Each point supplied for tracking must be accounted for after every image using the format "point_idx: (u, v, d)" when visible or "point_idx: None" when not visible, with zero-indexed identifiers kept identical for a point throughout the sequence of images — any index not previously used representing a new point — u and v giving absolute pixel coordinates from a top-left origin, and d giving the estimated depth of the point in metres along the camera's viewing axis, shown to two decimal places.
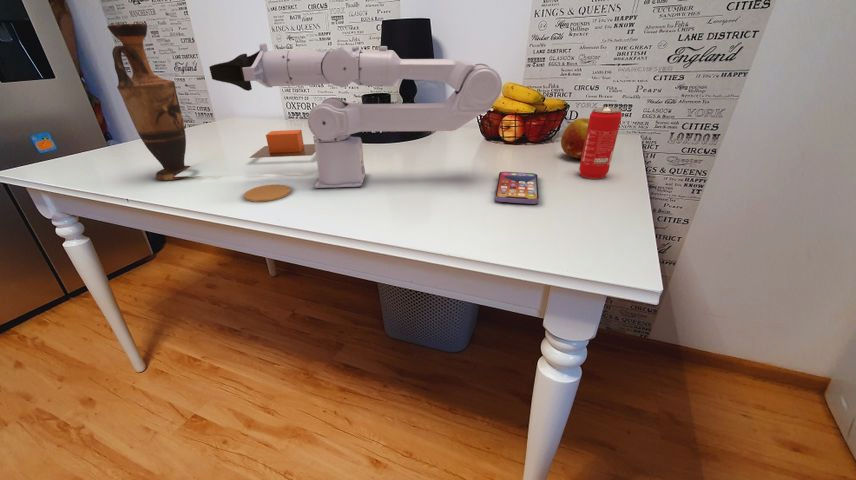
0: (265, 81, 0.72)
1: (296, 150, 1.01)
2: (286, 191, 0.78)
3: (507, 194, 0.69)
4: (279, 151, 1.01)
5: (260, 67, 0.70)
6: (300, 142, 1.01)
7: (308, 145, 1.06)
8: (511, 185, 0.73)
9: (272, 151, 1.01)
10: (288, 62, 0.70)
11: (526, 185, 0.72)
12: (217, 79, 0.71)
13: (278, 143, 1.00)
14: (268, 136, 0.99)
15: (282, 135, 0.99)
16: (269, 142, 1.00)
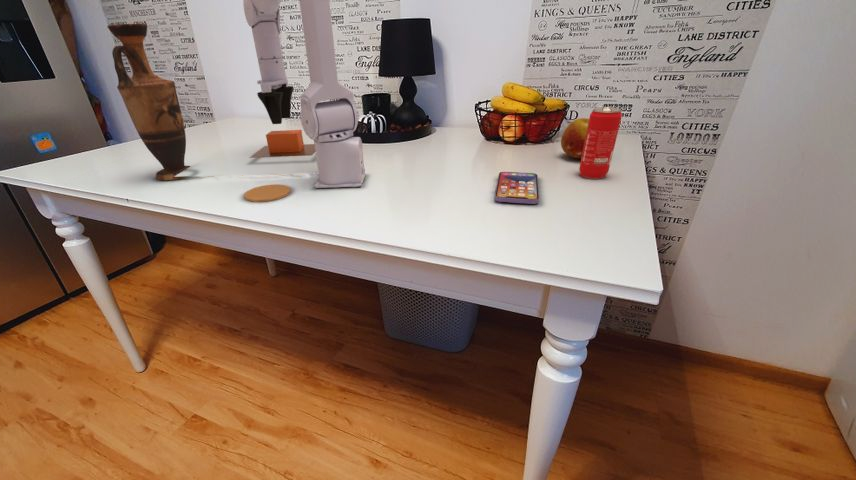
0: (278, 81, 0.92)
1: (296, 150, 1.01)
2: (286, 191, 0.78)
3: (507, 194, 0.69)
4: (279, 151, 1.01)
5: (268, 82, 0.92)
6: (300, 142, 1.01)
7: (308, 145, 1.06)
8: (511, 185, 0.73)
9: (272, 151, 1.01)
10: (257, 57, 0.92)
11: (526, 185, 0.72)
12: (279, 119, 0.95)
13: (278, 143, 1.00)
14: (268, 136, 0.99)
15: (282, 135, 0.99)
16: (269, 142, 1.00)
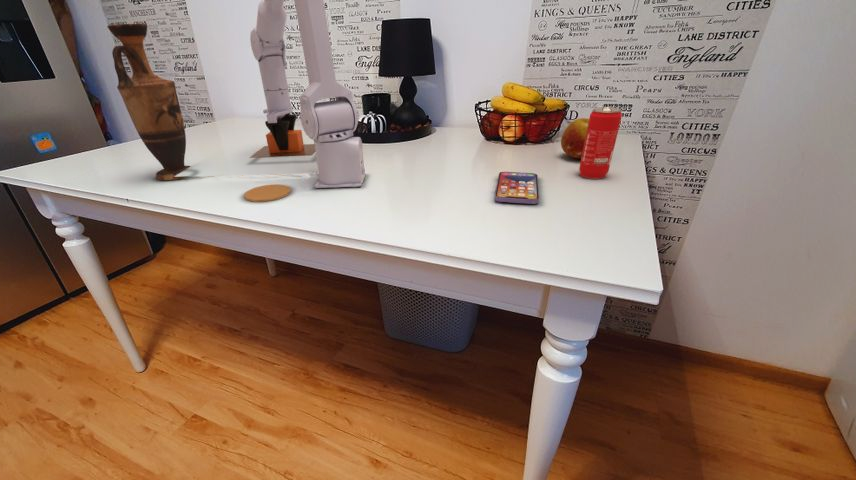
0: (283, 111, 0.96)
1: (296, 150, 1.01)
2: (286, 191, 0.78)
3: (507, 194, 0.69)
4: (279, 151, 1.01)
5: None
6: (300, 142, 1.01)
7: (308, 145, 1.06)
8: (511, 185, 0.73)
9: (272, 151, 1.01)
10: None
11: (526, 185, 0.72)
12: (286, 146, 1.00)
13: None
14: (268, 136, 0.99)
15: None
16: (269, 142, 1.00)
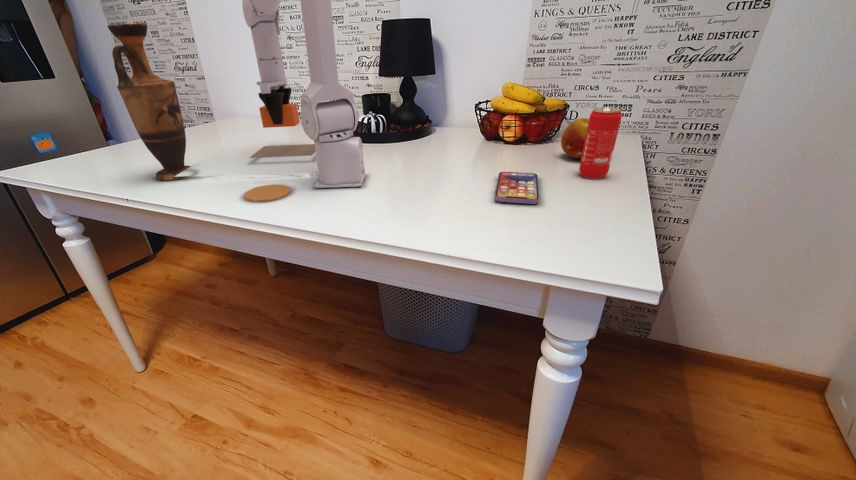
0: (277, 82, 0.91)
1: (291, 124, 0.96)
2: (286, 191, 0.78)
3: (507, 194, 0.69)
4: (273, 125, 0.97)
5: (267, 83, 0.91)
6: (295, 116, 0.97)
7: (308, 145, 1.06)
8: (511, 185, 0.73)
9: (266, 126, 0.97)
10: None
11: (526, 185, 0.72)
12: (281, 119, 0.95)
13: None
14: (262, 109, 0.95)
15: None
16: (263, 116, 0.96)
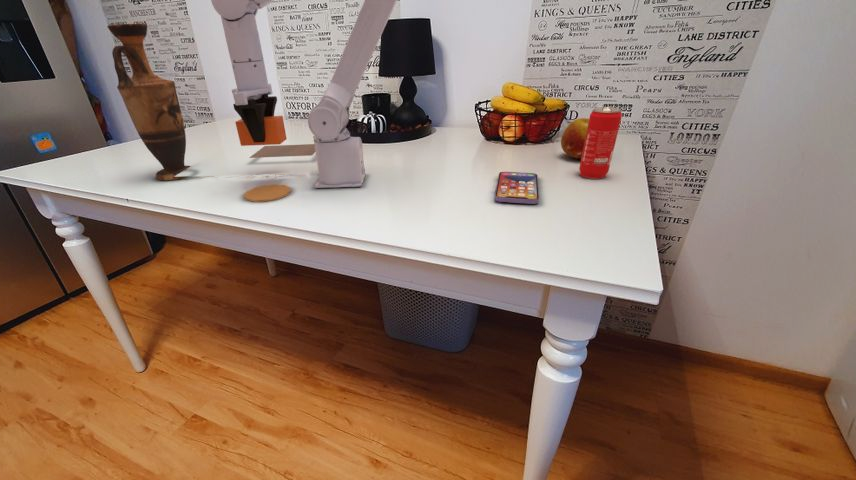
0: (257, 90, 0.72)
1: (275, 142, 0.77)
2: (286, 191, 0.78)
3: (507, 194, 0.69)
4: (253, 143, 0.78)
5: None
6: (280, 131, 0.78)
7: (308, 145, 1.06)
8: (511, 185, 0.73)
9: (244, 143, 0.78)
10: (235, 60, 0.70)
11: (526, 185, 0.72)
12: (262, 136, 0.76)
13: None
14: (238, 124, 0.76)
15: None
16: (240, 132, 0.77)
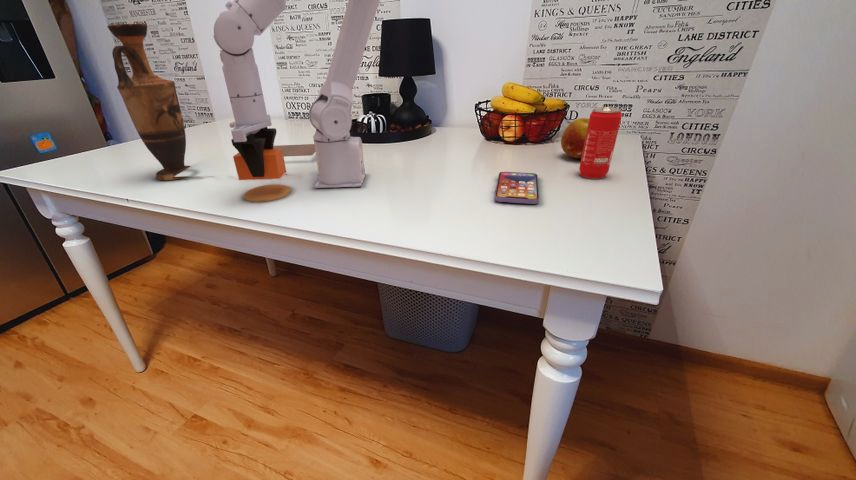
0: (256, 124, 0.70)
1: (275, 177, 0.75)
2: (286, 191, 0.78)
3: (507, 194, 0.69)
4: (252, 178, 0.75)
5: (243, 127, 0.70)
6: (280, 165, 0.75)
7: (308, 145, 1.06)
8: (511, 185, 0.73)
9: (242, 178, 0.75)
10: (240, 95, 0.67)
11: (526, 185, 0.72)
12: (261, 171, 0.74)
13: None
14: (236, 158, 0.73)
15: None
16: (238, 166, 0.74)
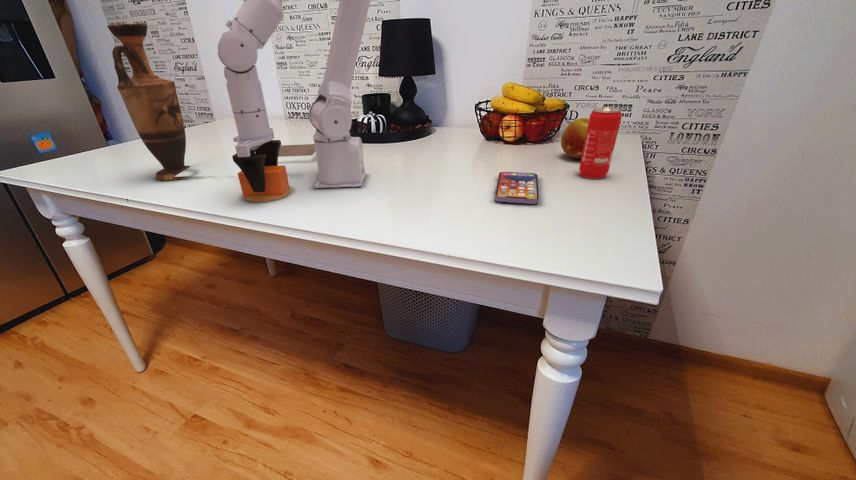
0: (259, 139, 0.71)
1: (278, 193, 0.76)
2: (286, 191, 0.78)
3: (507, 194, 0.69)
4: (256, 194, 0.77)
5: None
6: (283, 182, 0.77)
7: (308, 145, 1.06)
8: (511, 185, 0.73)
9: (247, 194, 0.77)
10: (243, 111, 0.68)
11: (526, 185, 0.72)
12: (262, 186, 0.74)
13: None
14: (241, 175, 0.75)
15: None
16: (242, 183, 0.76)
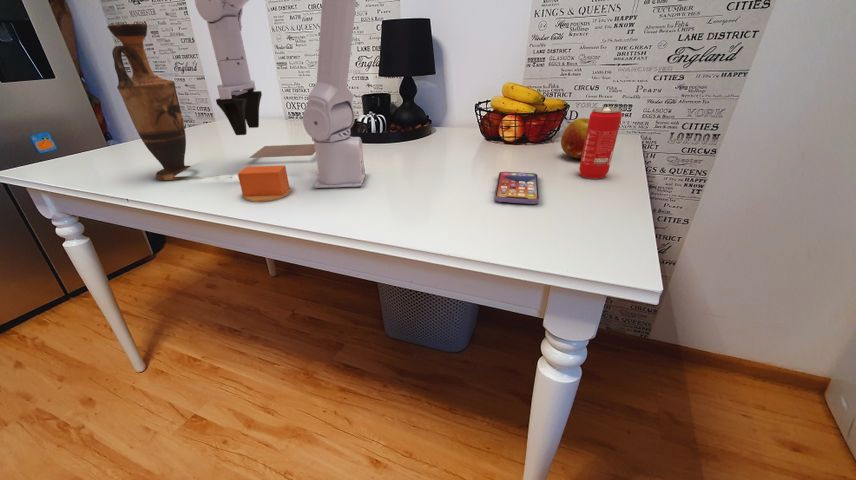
0: None
1: (278, 193, 0.76)
2: (286, 191, 0.78)
3: (507, 194, 0.69)
4: (256, 194, 0.77)
5: (228, 87, 0.79)
6: (283, 182, 0.77)
7: (308, 145, 1.06)
8: (511, 185, 0.73)
9: (247, 194, 0.77)
10: (217, 59, 0.78)
11: (526, 185, 0.72)
12: (244, 129, 0.82)
13: (255, 184, 0.76)
14: (241, 175, 0.75)
15: (259, 174, 0.75)
16: (242, 183, 0.76)
